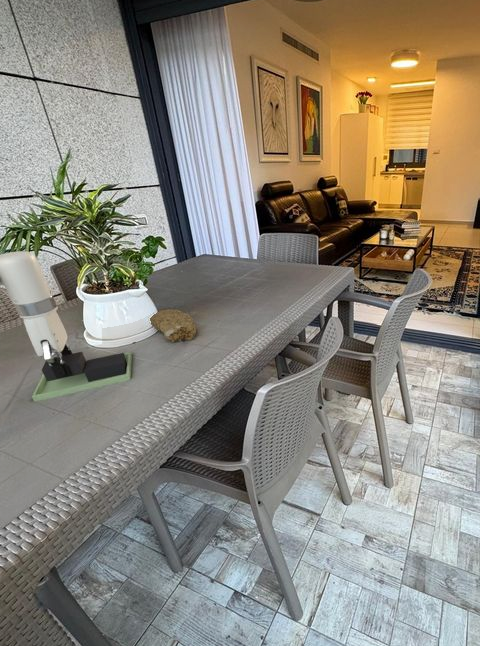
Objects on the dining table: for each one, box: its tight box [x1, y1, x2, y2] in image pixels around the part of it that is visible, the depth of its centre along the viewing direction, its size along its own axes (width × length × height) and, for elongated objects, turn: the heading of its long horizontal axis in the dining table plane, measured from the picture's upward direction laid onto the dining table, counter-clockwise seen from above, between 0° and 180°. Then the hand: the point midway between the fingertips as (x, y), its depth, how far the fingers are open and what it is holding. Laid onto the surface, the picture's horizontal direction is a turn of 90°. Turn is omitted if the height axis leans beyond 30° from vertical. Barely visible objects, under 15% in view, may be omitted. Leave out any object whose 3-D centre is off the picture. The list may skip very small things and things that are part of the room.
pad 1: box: [41, 351, 87, 382], centre depth 90 cm, size 8×6×4 cm
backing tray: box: [31, 351, 133, 403], centre depth 94 cm, size 21×13×2 cm, turn 113°
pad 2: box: [84, 352, 127, 382], centre depth 95 cm, size 9×6×4 cm, turn 114°
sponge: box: [150, 308, 197, 343], centre depth 116 cm, size 13×8×20 cm
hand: (66, 369), depth 91 cm, fingers closed on pad 1, 6 cm apart
